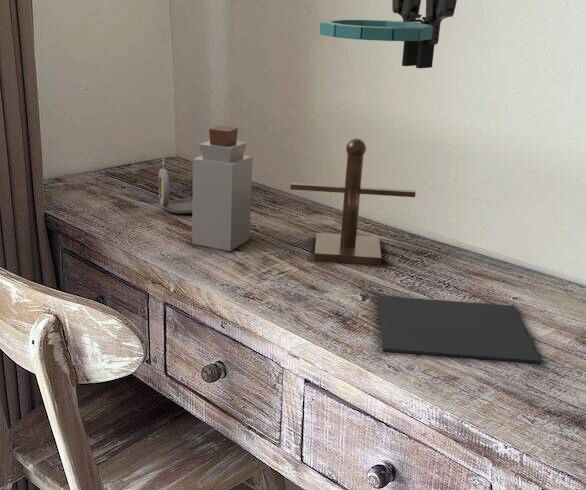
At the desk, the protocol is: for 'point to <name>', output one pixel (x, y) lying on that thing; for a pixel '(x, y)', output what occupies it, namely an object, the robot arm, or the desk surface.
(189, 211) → the pocket watch
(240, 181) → the perfume bottle
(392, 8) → the robot arm
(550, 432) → the desk surface
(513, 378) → the desk surface
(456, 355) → the mat
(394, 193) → the stand
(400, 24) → the ring
